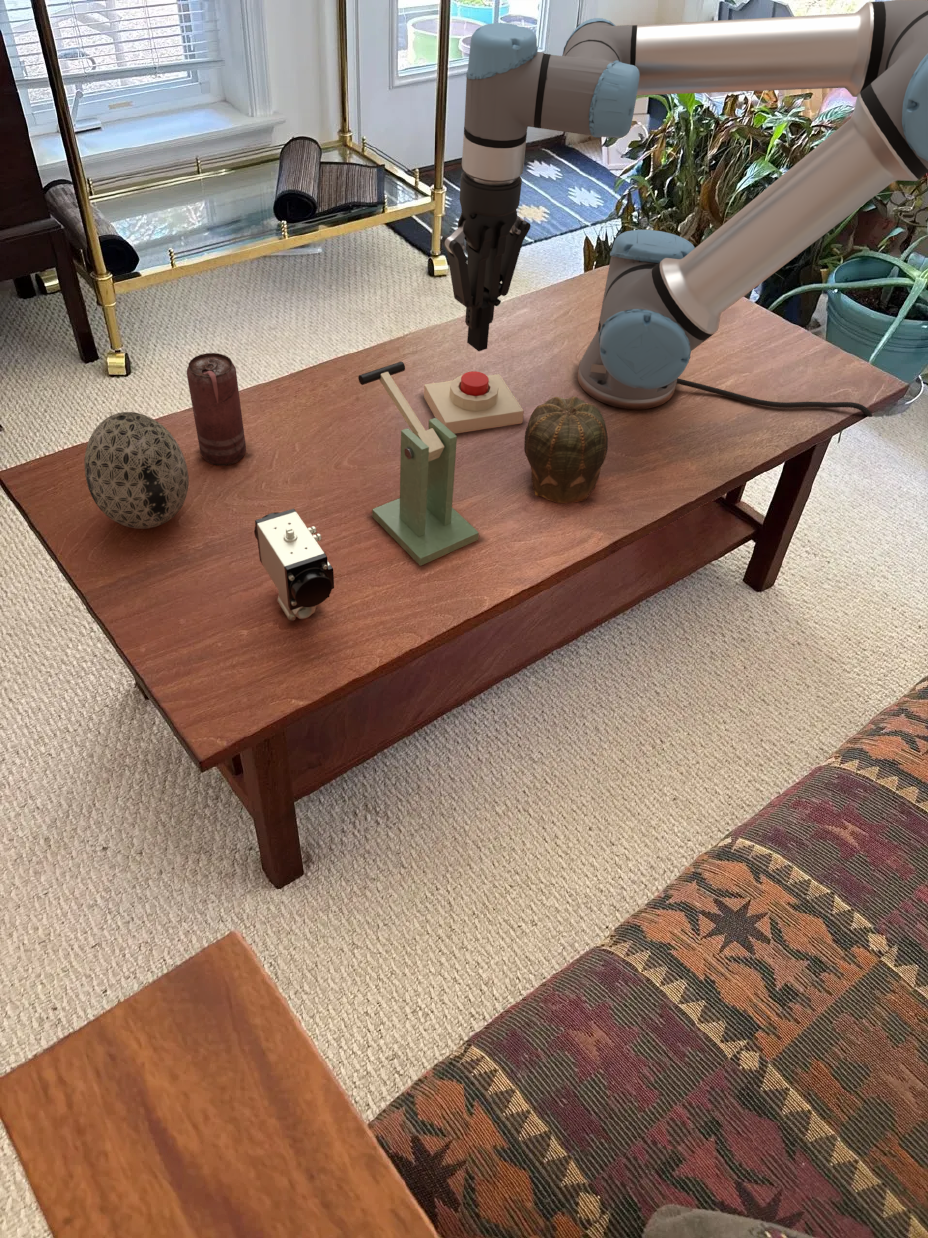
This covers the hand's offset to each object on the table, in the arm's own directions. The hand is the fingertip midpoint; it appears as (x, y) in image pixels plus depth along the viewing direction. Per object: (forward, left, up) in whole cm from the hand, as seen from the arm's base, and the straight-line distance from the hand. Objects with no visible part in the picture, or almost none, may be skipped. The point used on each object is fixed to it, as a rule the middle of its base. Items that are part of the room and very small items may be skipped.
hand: (477, 345), depth 133 cm
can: (+34, +14, -11) cm, 38 cm away
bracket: (+6, +27, -11) cm, 30 cm away
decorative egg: (+41, +28, -11) cm, 51 cm away
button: (0, 0, -7) cm, 7 cm away
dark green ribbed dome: (-12, +16, -11) cm, 23 cm away
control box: (0, 0, -11) cm, 11 cm away
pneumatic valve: (+20, +42, -11) cm, 48 cm away
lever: (+9, +23, +3) cm, 25 cm away
